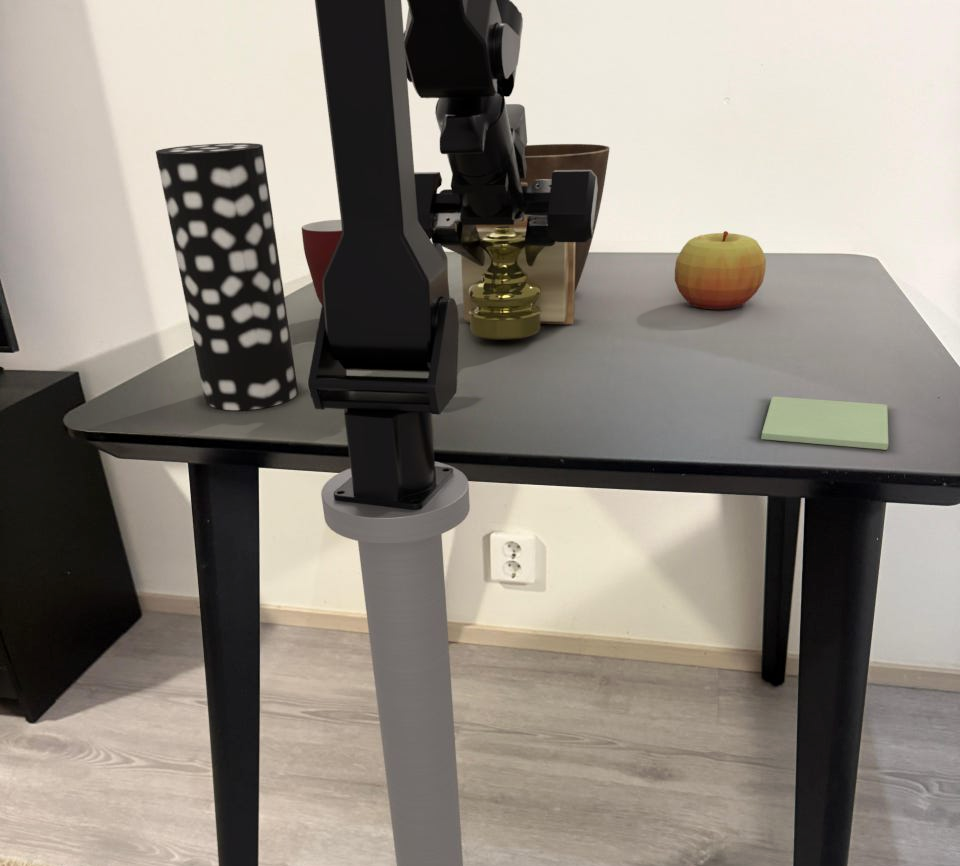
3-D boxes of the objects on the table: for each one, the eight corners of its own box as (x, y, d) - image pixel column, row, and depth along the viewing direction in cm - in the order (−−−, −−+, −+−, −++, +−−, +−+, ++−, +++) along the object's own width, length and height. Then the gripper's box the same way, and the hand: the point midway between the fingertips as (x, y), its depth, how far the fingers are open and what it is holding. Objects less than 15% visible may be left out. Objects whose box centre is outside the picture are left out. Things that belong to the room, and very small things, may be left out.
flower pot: (457, 297, 114) (451, 152, 105) (543, 277, 122) (543, 140, 113) (543, 317, 104) (543, 158, 96) (629, 293, 113) (637, 145, 104)
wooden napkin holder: (568, 331, 99) (570, 187, 91) (459, 329, 101) (453, 188, 94) (574, 320, 103) (577, 181, 95) (469, 318, 105) (464, 182, 97)
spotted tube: (188, 408, 82) (134, 154, 71) (231, 379, 88) (188, 144, 78) (274, 412, 80) (233, 152, 69) (311, 383, 87) (279, 142, 76)
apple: (719, 320, 100) (727, 241, 96) (654, 305, 107) (659, 231, 103) (777, 305, 105) (788, 229, 101) (712, 291, 112) (719, 220, 108)
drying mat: (887, 450, 68) (888, 443, 68) (761, 439, 70) (761, 433, 70) (886, 410, 75) (887, 404, 75) (771, 402, 78) (772, 396, 77)
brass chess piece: (471, 323, 99) (467, 223, 94) (540, 322, 99) (541, 220, 93) (468, 341, 93) (463, 234, 88) (541, 339, 93) (542, 232, 87)
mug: (412, 312, 109) (406, 220, 103) (385, 329, 102) (377, 232, 97) (332, 308, 112) (321, 218, 106) (300, 325, 105) (287, 230, 100)
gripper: (599, 64, 78) (607, 192, 93) (389, 72, 82) (429, 193, 97) (585, 178, 76) (595, 290, 91) (370, 181, 80) (414, 288, 95)
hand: (507, 262), depth 94 cm, fingers closed on brass chess piece, 5 cm apart
